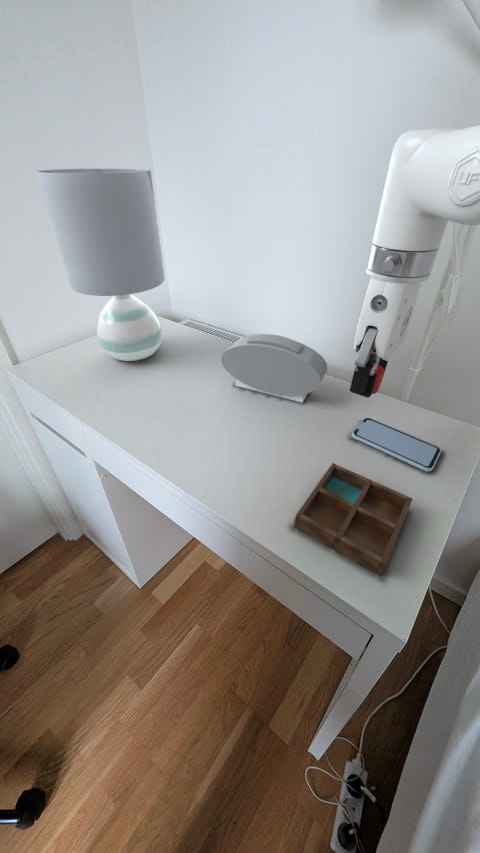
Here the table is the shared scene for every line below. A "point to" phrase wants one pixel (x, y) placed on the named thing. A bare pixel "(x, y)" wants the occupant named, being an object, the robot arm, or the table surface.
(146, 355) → the lamp
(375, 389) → the red cylinder
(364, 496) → the grid
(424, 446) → the smartphone
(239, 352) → the alarm clock
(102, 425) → the table surface
